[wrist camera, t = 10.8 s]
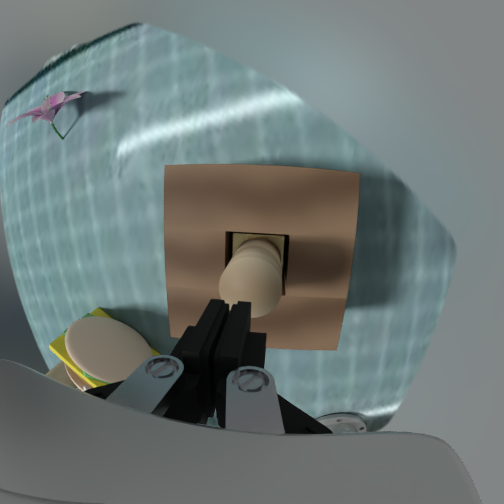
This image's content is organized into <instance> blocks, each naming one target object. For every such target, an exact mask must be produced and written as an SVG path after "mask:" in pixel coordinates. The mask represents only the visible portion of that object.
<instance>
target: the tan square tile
mask: <svg viewBox="0 0 504 504" xmlns="http://www.w3.org/2000/svg"><path fill="white" fill-rule="evenodd" d="M253 237H263V238H266V239H269V240H270V241H272V242H273V243H274V244H275V245H276V246H277V247H278V249H279V251H280V254H281V269H282V265H283V251H284V234H269V233H251V232H234V233H233V256H234V254H235V252H236V251H237V249H238V248H239V246H240V245H241V244H242V243H243V242H244V241H245V240H247V239H249V238H253Z"/></svg>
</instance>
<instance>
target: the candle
mask: <svg viewBox="0 0 504 504" xmlns="http://www.w3.org/2000/svg"><path fill="white" fill-rule="evenodd" d="M46 376H48V377H50V378H53V379H55V380H57V381H59V382H61V383H64V384H66V385H68V386H71V387H73V388H75V389H76V388H77V386H76V385H75V384H74V382H73V381H72V380H71V378H70V376H69V375H68V373H67V370H66V367H65V363H64V362H63V361H62V360H61V361H60V362H59V363H58V364H57V365H56V366H55V367H54V368H52V369H51V370H50V371H49V372H48V373H47V374H46Z"/></svg>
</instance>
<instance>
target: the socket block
mask: <svg viewBox="0 0 504 504" xmlns="http://www.w3.org/2000/svg"><path fill="white" fill-rule="evenodd" d="M359 186H360V173H355V172H346V171H337V170H327V169H316V168H304V167H290V166H273V165H246V164H186V165H165V173H164V249H165V272H166V289H167V302H168V314H169V325H170V334H171V337H176V338H181V337H182V335H183V333H184V332H185V330H186V328H187V327H188V326H196V324H197V323H198V321H199V319H200V317H201V315H202V314H203V312H204V310H205V308H206V307H207V305H208V303H209V301H210V300H211V299H221V297H220V293H219V281H220V278H221V275H222V274H223V272H224V270H225V269H226V267H227V265H228V264H229V262H230V260H231V259H232V257H233V233H234V232H251V233H269V234H284V251H283V265H282V295H281V299H280V301H279V303H278V305H277V306H276V307H275V308H274V309H273V310H272V311H271V312H270V313H268V314H266V315H264V316H261V317H256V318H251V328H250V332H260V333H267V339H266V348H278V349H298V350H337V347H338V342H339V337H340V332H341V328H342V323H343V317H344V312H345V306H346V301H347V295H348V289H349V282H350V276H351V269H352V261H353V253H354V245H355V236H356V226H357V215H358V202H359ZM221 300H222V299H221ZM229 313H230V310H229Z"/></svg>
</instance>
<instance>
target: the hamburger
mask: <svg viewBox="0 0 504 504" xmlns="http://www.w3.org/2000/svg"><path fill="white" fill-rule="evenodd" d="M49 348H50V349H51V350H52V351H53V352H54V353H55V354H56V355H57V356H58V357H59V358H60V359H61V360H62V361H63V362H64V363H65V367H66V370H67V373H68V375H69V376H70V378H71V380H72V381H73V382H74V384H75V385H76V386H77V387H78V388H79V389H80V390H81V391H83V392H84V391H85V390H88V389H91V388H95V387H99V386H103V385H107V384H111V383H115V382H119V381H122V380H126V379H127V378H128V377H129V376H130V375H131V374H132V373H133V372H134V371H135V370H136V369H137V368H138V367H139V366H140V365H141V364H142V363H143V362H144V361H145V360H147V359H148V358H150V357H153V356H157V355H161V354H160V353H158V352H157V351H155V350H154V349H153V348H151V347H150V346H149V345H148V343H147V342H146V340H145V339H144V338H143V337H142V336H141V335H140V334H139V333H138V332H137V331H135V330H134V329H132V328H131V327H129V326H128V325H126V324H124V323H122V322H119V321H117V320H114V319H112V318H111V317H110V316H109V315H108V314H106V313H105V312H104V311H103V310H101V309H100V308H99V307H98V308H97V309H96V310H94V311H93V312H91V313H90V314H89V313H88V314H87V315H85V316H84V317H82V318H81V319H79V320H77V321H75V322H74V323H72V324H71V325H70V327H69V328H68V329H66V330H65V331H64V332H63V334H62V335H61V336H60V337H58V338H57V339H56V340H54V341H53V342H52V343H51V344H49Z"/></svg>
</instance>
